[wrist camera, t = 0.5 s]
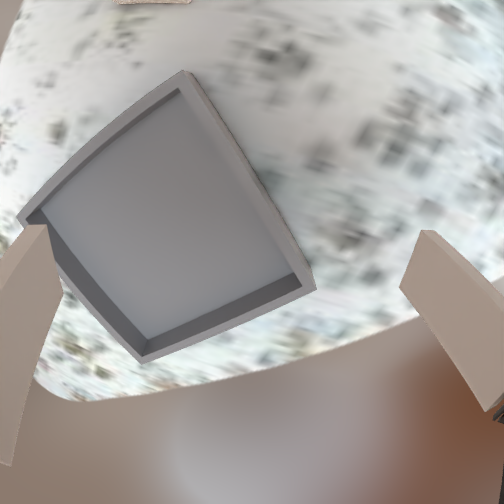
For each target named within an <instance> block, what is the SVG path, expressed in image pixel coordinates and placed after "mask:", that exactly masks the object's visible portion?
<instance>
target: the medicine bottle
mask: <svg viewBox="0 0 504 504" xmlns="http://www.w3.org/2000/svg"><path fill="white" fill-rule="evenodd" d="M112 1H114V2H116V3H118V4H135V3H184V4H188V3H190V2H191V0H112Z"/></svg>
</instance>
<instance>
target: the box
mask: <svg viewBox="0 0 504 504" xmlns="http://www.w3.org/2000/svg"><path fill="white" fill-rule="evenodd" d="M16 218H17V219H18V221H19V222H20V224H21V225H22V226H23V228H24V229H25V228H26V226H27V225H43V224H47V228H48V233H49V238H50V243H51V247H52V251H53V255H54V259H55V263H56V267H57V271H58V275H59V276H60V277H61V279H62V280H63V281H64V282H65V284H66V285H67V286H68V287H69V288H70V290H71V291H72V292H73V293H74V294H75V295H76V297H77V298H78V299H79V300H80V301H81V302H82V304H83V305H84V306H85V307H86V308H87V309H88V310H89V311H90V313H91V314H92V315H93V316H94V317H95V318H96V319H97V320H98V321H99V322H100V323H101V325H102V326H103V327H104V328H105V329H106V330H107V331H108V332H109V333H110V334H111V335H112V336H113V337H114V338H115V339H116V340H117V341H118V342H119V343H120V344H121V345H122V346H123V347H124V348H125V349H126V350H127V351H128V352H129V353H130V354H131V355H132V356H133V357H134V358H135V359H136V360H137V361H138V362H139V363H140V364H141V365H142V364H145V363H147V362H150V361H153V360H155V359H158V358H160V357H163V356H166V355H168V354H171V353H173V352H176V351H178V350H181V349H183V348H186V347H188V346H191V345H193V344H196V343H198V342H200V341H203V340H205V339H208V338H210V337H212V336H215V335H217V334H220V333H222V332H224V331H227V330H229V329H231V328H234V327H236V326H238V325H241V324H243V323H245V322H247V321H250V320H252V319H254V318H256V317H259V316H261V315H263V314H265V313H268V312H270V311H272V310H274V309H276V308H279V307H281V306H283V305H285V304H287V303H289V302H292V301H294V300H296V299H298V298H300V297H302V296H304V295H306V294H309V293H311V292H313V291H315V290H317V288H316V284H315V281H314V278H313V274H312V271H311V268H310V266H309V264H308V262H307V260H306V259H305V257H304V255H303V253H302V252H301V250H300V248H299V246H298V245H297V243H296V241H295V239H294V238H293V236H292V234H291V232H290V231H289V229H288V227H287V226H286V224H285V222H284V220H283V219H282V217H281V215H280V214H279V212H278V210H277V208H276V207H275V205H274V203H273V202H272V200H271V198H270V197H269V195H268V193H267V192H266V190H265V188H264V187H263V185H262V183H261V182H260V180H259V178H258V177H257V175H256V173H255V172H254V170H253V168H252V167H251V165H250V163H249V162H248V160H247V159H246V157H245V155H244V154H243V152H242V150H241V149H240V147H239V146H238V144H237V142H236V141H235V139H234V138H233V136H232V134H231V133H230V131H229V130H228V128H227V127H226V125H225V123H224V122H223V120H222V119H221V117H220V115H219V114H218V112H217V111H216V109H215V108H214V106H213V105H212V103H211V101H210V100H209V98H208V97H207V95H206V94H205V92H204V91H203V89H202V88H201V86H200V85H199V83H198V82H197V80H196V79H195V77H194V76H193V74H192V73H189V72H186V71H184V70H182V71H180V72H178V73H177V74H175V75H174V76H172V77H171V78H169V79H168V80H167V81H165V82H164V83H162V84H161V85H159V86H158V87H156V88H155V89H154V90H152V91H151V92H150V93H148V94H147V95H145V96H144V97H143V98H141V99H140V100H139V101H137V102H136V103H135V104H133V105H132V106H131V107H130V108H128V109H127V110H126V111H124V112H123V113H122V114H121V115H119V116H118V117H117V118H116V119H114V120H113V121H112V122H111V123H110V124H108V125H107V126H106V127H105V128H104V129H102V130H101V131H100V132H99V133H98V134H97V135H96V136H94V137H93V138H92V139H91V140H90V141H89V142H88V143H86V144H85V145H84V146H83V147H82V148H81V149H80V150H79V151H78V152H77V153H76V154H75V155H73V156H72V157H71V158H70V159H69V160H68V161H67V162H66V163H65V164H64V165H63V166H62V167H61V168H60V169H59V170H58V171H57V172H56V173H55V174H54V175H53V176H52V177H51V178H50V179H49V180H48V181H47V182H46V183H45V184H44V186H43V187H42V188H41V189H40V190H39V191H38V192H37V193H36V194H35V195H34V196H33V197H32V199H31V200H30V201H29V202H28V203H27V204H26V205H25V207H24V208H23V209H22V210H21V211H20V212H19V214H18V215H17V216H16Z"/></svg>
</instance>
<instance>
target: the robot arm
mask: <svg viewBox="0 0 504 504" xmlns="http://www.w3.org/2000/svg"><path fill="white" fill-rule="evenodd" d="M399 288H400V290H401V291H402V292H403V293H404V295H405V296H406V297H407V299H408V300H409V301H410V303H411V304H412V305H413V307H414V308H415V309H416V311H417V312H418V313H419V315H420V316H421V317H422V318H423V320H424V321H425V322H426V324H427V325H428V327H429V328H430V330H432V332H433V334H434V335H435V336H436V338H437V339H438V341H439V342H440V344H441V345H442V347H443V348H444V349H445V350H446V352H447V354H448V355H449V357H450V358H451V359H452V361H453V363H454V364H455V366H456V367H457V368H458V370H459V372H460V373H461V375H462V376H463V378H464V379H465V381H466V382H467V384H468V385H469V387H470V389H471V390H472V392H473V393H474V395H475V397H476V398H477V400H478V401H479V403H480V405H481V406H482V408H483V410H484V411H485V412H486V411H488V410H489V409H491V408H493V407H495V406H496V405H498V404H499V403H500V402H501V401H502V399H503V398H504V297H503V296H502V294H501V293H500V292H499V291H498V290H497V289H496V288H495V287H494V286H493V285H492V284H491V283H490V282H489V281H488V280H487V279H486V278H485V277H484V276H483V275H482V274H481V273H480V272H479V271H478V270H477V269H476V268H475V267H474V266H473V265H472V264H471V263H470V262H469V261H468V260H466V259H465V258H464V257H463V256H462V255H461V254H460V253H459V252H458V251H457V250H456V249H455V248H454V247H452V246H451V245H450V244H449V243H448V242H447V241H446V240H445V239H444V238H442V237H441V236H440V235H439V234H438V233H437V232H436V231H434V230H421V232H420V234H419V237H418V240H417V243H416V245H415V248H414V251H413V253H412V256H411V259H410V261H409V264H408V266H407V269H406V271H405V274H404V276H403V279H402V281H401V283H400V286H399ZM63 294H64V292H63V289H62V286H61V282H60V279H59V275H58V271H57V267H56V263H55V259H54V255H53V251H52V247H51V243H50V238H49V233H48V228H47V224H43V225H27V226H26V228H25V229H24V230H23V231H22V232H21V234H20V235H19V236H18V237H17V239H16V240H15V241H14V242H13V244H12V245H11V246H10V247H9V249H8V250H7V251H6V253H5V254H4V255H3V256H2V258H1V259H0V463H2V464H5V465H8V466H11V464H12V459H13V454H14V448H15V443H16V438H17V433H18V430H19V425H20V421H21V417H22V413H23V409H24V405H25V402H26V398H27V394H28V391H29V388H30V384H31V381H32V378H33V374H34V371H35V368H36V365H37V362H38V359H39V356H40V353H41V350H42V348H43V345H44V342H45V339H46V337H47V334H48V331H49V329H50V326H51V323H52V321H53V318H54V316H55V313H56V311H57V309H58V306H59V304H60V301H61V299H62V297H63ZM502 413H504V405H503V406H502V407H501V408H500V409H499V410H498V411H497V412H496V413H495V414H494V416H493V420H494V421H495V420H496V419H497V418H498V417H499V416H500V415H501V414H502ZM498 422H500V423H503V424H504V414H503V415H502V416H501V417H500V418H499V420H498ZM499 504H504V466H503V477H502V486H501V492H500V499H499Z"/></svg>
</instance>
